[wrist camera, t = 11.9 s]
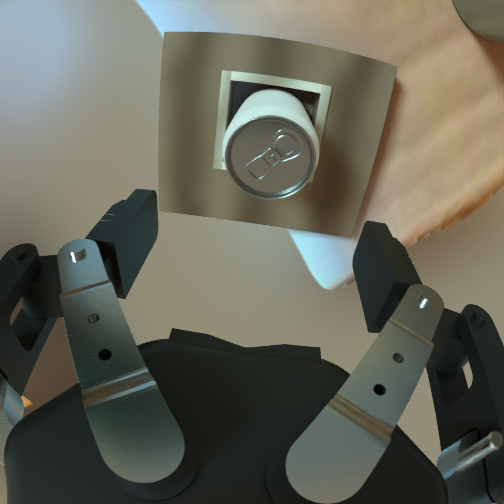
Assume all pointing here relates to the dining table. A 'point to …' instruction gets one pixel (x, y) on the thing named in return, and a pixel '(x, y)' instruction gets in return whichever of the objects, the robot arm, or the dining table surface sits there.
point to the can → (271, 145)
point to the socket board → (219, 114)
